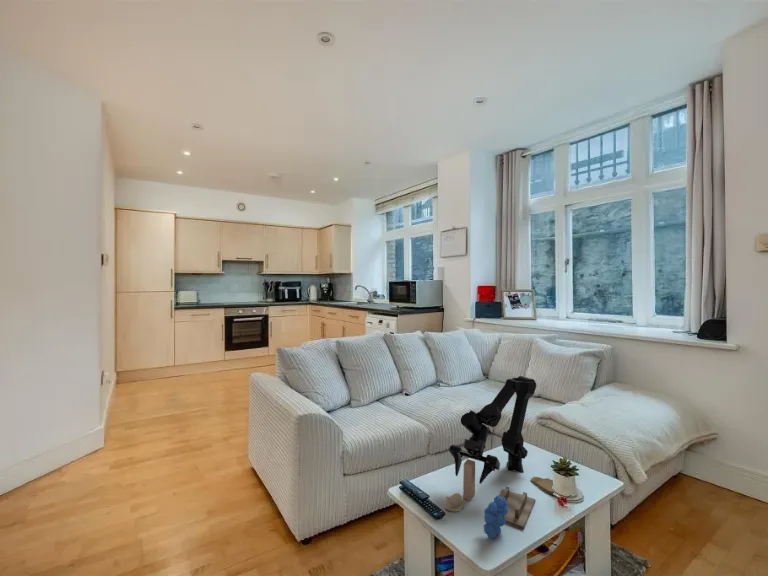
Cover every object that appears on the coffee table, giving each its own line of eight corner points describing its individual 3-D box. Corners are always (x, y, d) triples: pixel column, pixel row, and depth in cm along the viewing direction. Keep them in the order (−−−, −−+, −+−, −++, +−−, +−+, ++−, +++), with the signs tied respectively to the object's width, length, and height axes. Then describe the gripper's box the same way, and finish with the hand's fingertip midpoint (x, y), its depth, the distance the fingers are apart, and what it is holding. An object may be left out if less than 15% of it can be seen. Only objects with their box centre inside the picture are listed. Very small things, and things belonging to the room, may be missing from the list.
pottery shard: (526, 487, 146) (564, 502, 134) (525, 480, 146) (563, 494, 135) (537, 480, 151) (574, 494, 140) (536, 474, 152) (573, 487, 140)
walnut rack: (502, 491, 141) (502, 480, 141) (535, 501, 134) (535, 491, 134) (487, 516, 126) (487, 504, 126) (523, 529, 119) (523, 517, 119)
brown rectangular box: (463, 498, 136) (463, 463, 136) (467, 492, 139) (467, 459, 139) (470, 500, 134) (471, 465, 134) (474, 495, 138) (475, 461, 137)
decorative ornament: (466, 508, 130) (466, 493, 130) (447, 515, 126) (447, 500, 126) (458, 502, 134) (458, 487, 133) (440, 509, 129) (440, 494, 129)
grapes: (494, 520, 124) (494, 485, 123) (512, 530, 119) (513, 494, 118) (473, 535, 116) (473, 498, 116) (492, 547, 111) (492, 509, 111)
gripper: (450, 424, 145) (438, 463, 136) (498, 435, 134) (488, 479, 125) (458, 436, 151) (446, 474, 143) (504, 448, 141) (494, 490, 132)
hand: (467, 479), depth 136 cm, fingers open, 9 cm apart
